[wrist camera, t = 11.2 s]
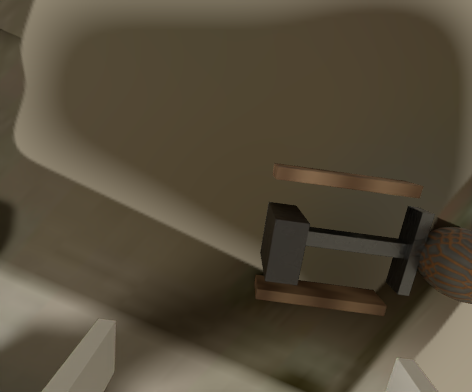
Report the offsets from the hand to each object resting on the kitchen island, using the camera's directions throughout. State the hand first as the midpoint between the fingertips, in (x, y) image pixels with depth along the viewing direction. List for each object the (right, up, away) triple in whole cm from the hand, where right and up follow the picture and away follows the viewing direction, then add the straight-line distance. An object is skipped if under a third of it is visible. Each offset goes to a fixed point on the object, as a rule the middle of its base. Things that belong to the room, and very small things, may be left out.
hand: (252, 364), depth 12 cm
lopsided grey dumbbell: (+10, +3, +18) cm, 21 cm away
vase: (+22, +2, +18) cm, 28 cm away
